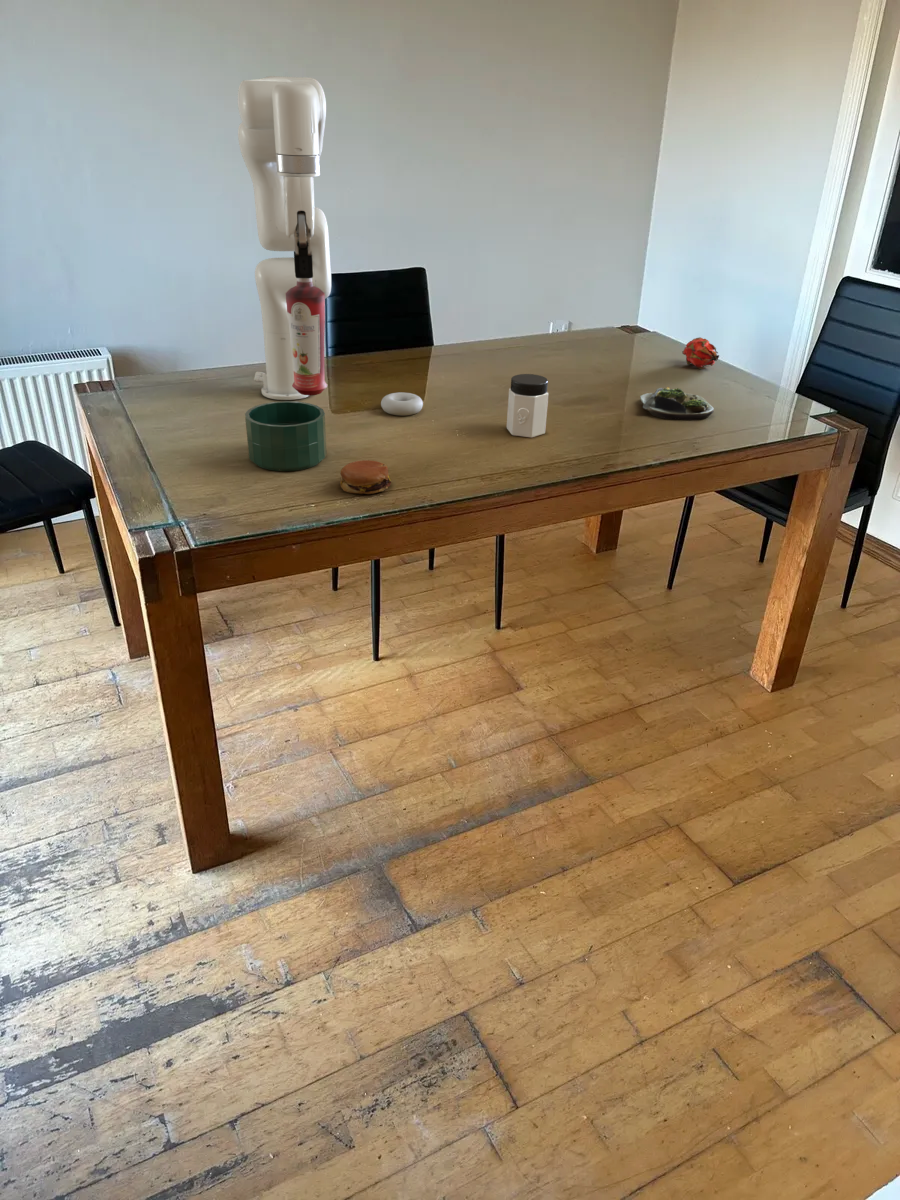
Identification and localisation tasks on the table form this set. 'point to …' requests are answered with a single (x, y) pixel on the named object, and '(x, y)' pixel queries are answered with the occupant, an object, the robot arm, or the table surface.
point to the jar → (527, 405)
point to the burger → (365, 477)
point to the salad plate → (676, 405)
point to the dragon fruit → (700, 353)
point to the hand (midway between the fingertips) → (303, 275)
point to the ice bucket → (286, 435)
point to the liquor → (307, 336)
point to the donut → (401, 404)
